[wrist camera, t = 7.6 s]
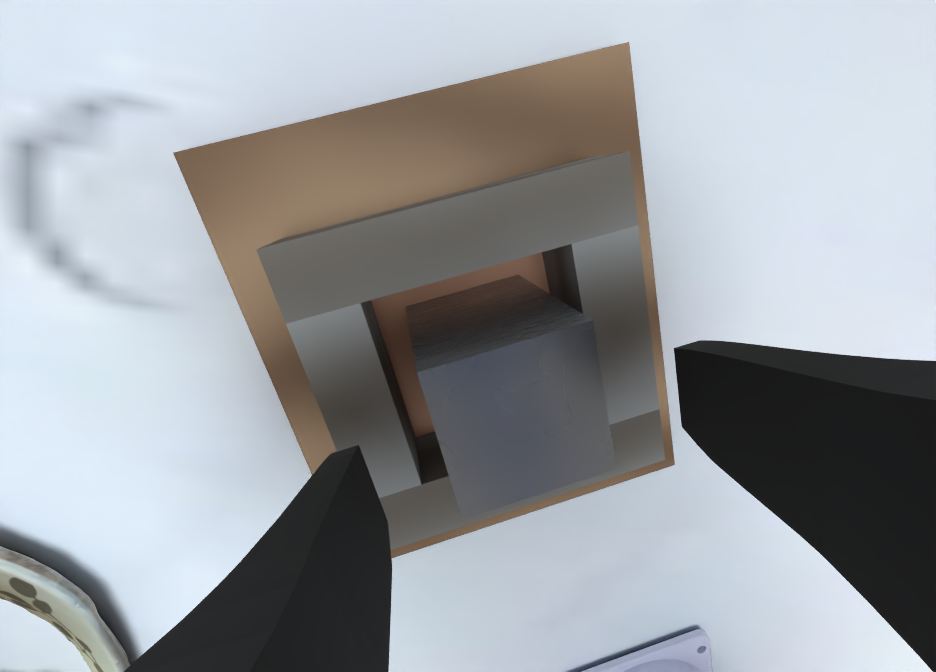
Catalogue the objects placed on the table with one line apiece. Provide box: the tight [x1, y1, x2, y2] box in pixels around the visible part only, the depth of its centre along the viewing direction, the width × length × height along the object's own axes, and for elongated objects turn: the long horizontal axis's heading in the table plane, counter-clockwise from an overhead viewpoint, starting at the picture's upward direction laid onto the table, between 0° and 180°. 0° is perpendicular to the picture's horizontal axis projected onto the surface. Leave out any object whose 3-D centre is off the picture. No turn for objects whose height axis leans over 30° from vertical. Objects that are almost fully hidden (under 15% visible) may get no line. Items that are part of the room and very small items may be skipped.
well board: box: [174, 42, 675, 558], centre depth 15 cm, size 16×14×4 cm
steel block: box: [406, 275, 617, 519], centre depth 13 cm, size 4×4×6 cm
